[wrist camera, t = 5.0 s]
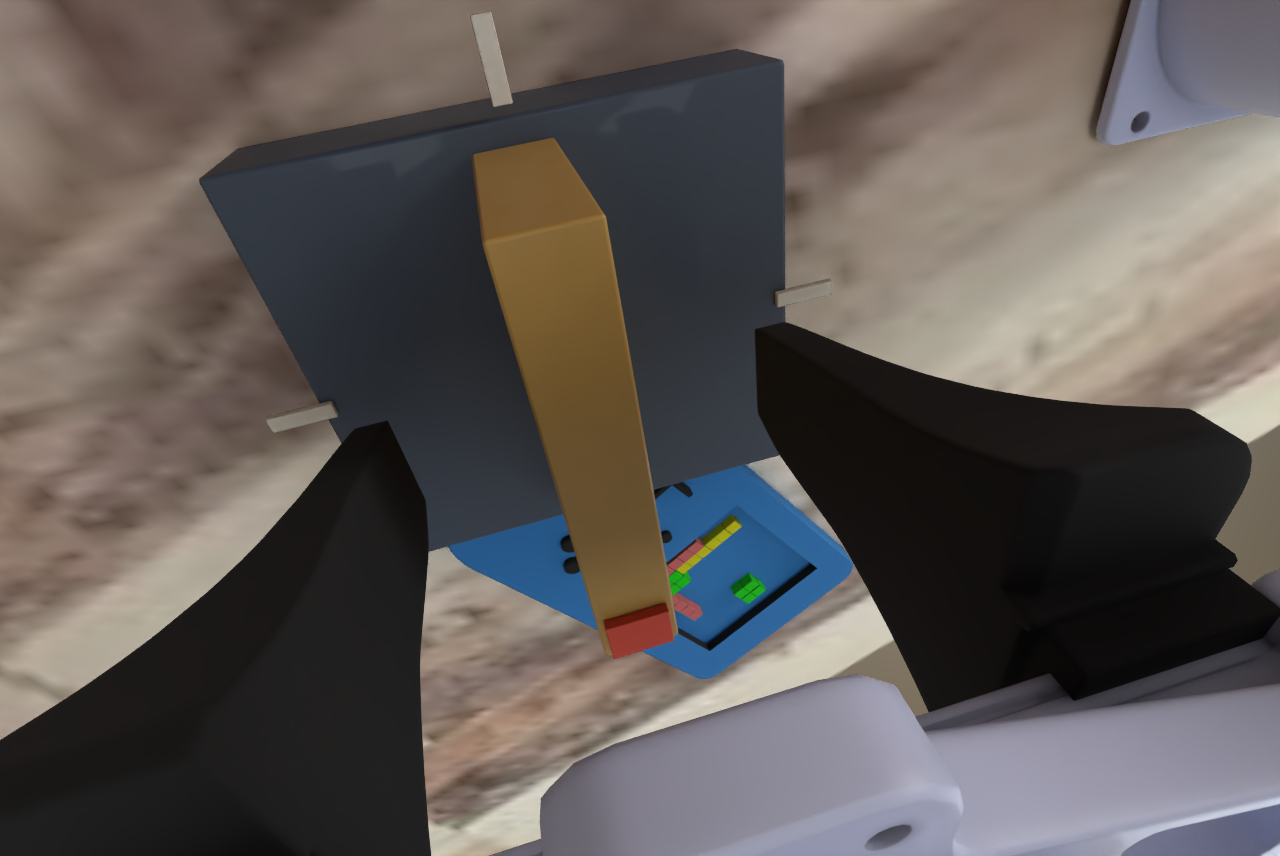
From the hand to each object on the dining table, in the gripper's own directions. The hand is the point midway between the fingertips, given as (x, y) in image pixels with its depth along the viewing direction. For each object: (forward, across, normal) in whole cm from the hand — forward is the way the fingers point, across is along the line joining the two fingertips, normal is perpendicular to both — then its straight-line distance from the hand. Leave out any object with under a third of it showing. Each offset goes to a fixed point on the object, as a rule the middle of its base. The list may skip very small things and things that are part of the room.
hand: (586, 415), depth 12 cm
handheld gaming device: (+6, -2, +10) cm, 11 cm away
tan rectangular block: (+3, 0, 0) cm, 3 cm away
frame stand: (+5, 0, 0) cm, 5 cm away
